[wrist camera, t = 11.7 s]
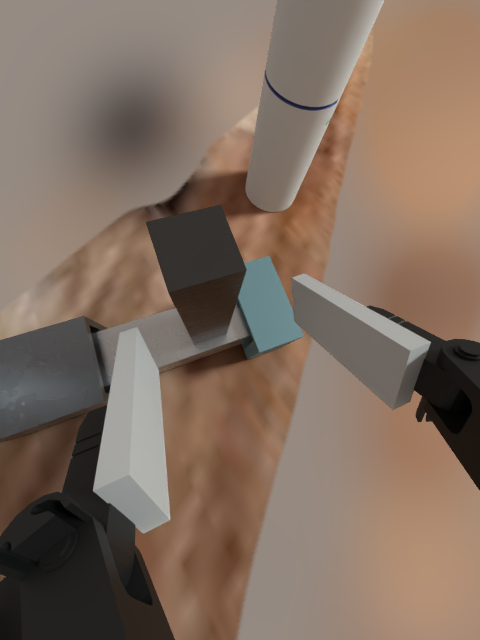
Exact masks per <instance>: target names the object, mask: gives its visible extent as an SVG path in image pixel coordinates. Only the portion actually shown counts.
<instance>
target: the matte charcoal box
mask: <svg viewBox="0 0 480 640" xmlns="http://www.w3.org/2000/svg"><path fill="white" fill-rule="evenodd" d="M105 329H108V328H106V327H104V326H102V325H100V324H98V323H96V322H94V321H92V320H90V319H88V318H86V317H85V316H82V317H79V318H75V319H72V320H68V321H65V322H62V323H58V324H55V325H51V326H48V327H44V328H41V329H37V330H34V331H31V332H27V333H24V334H20V335H17V336H13V337H10V338H6V339H3V340H0V443H1V442H5V441H8V440H12V439H15V438H18V437H22V436H25V435H28V434H31V433H34V432H37V431H39V430H42V429H45V428H47V427H50V426H53V425H56V424H58V423H61V422H64V421H67V420H69V419H72V418H75V417H77V416H80V415H83V414H86V413H88V412H90V411H92V410H95V409H97V408H100V407H103V406H105V405H108V399H109V393H110V391H108V392H105V389H104V385H103V381H102V377H101V373H100V368H99V364H98V360H97V356H96V352H95V347H94V343H93V339H92V335H91V334H92V333H95V332H98V331H102V330H105Z"/></svg>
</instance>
